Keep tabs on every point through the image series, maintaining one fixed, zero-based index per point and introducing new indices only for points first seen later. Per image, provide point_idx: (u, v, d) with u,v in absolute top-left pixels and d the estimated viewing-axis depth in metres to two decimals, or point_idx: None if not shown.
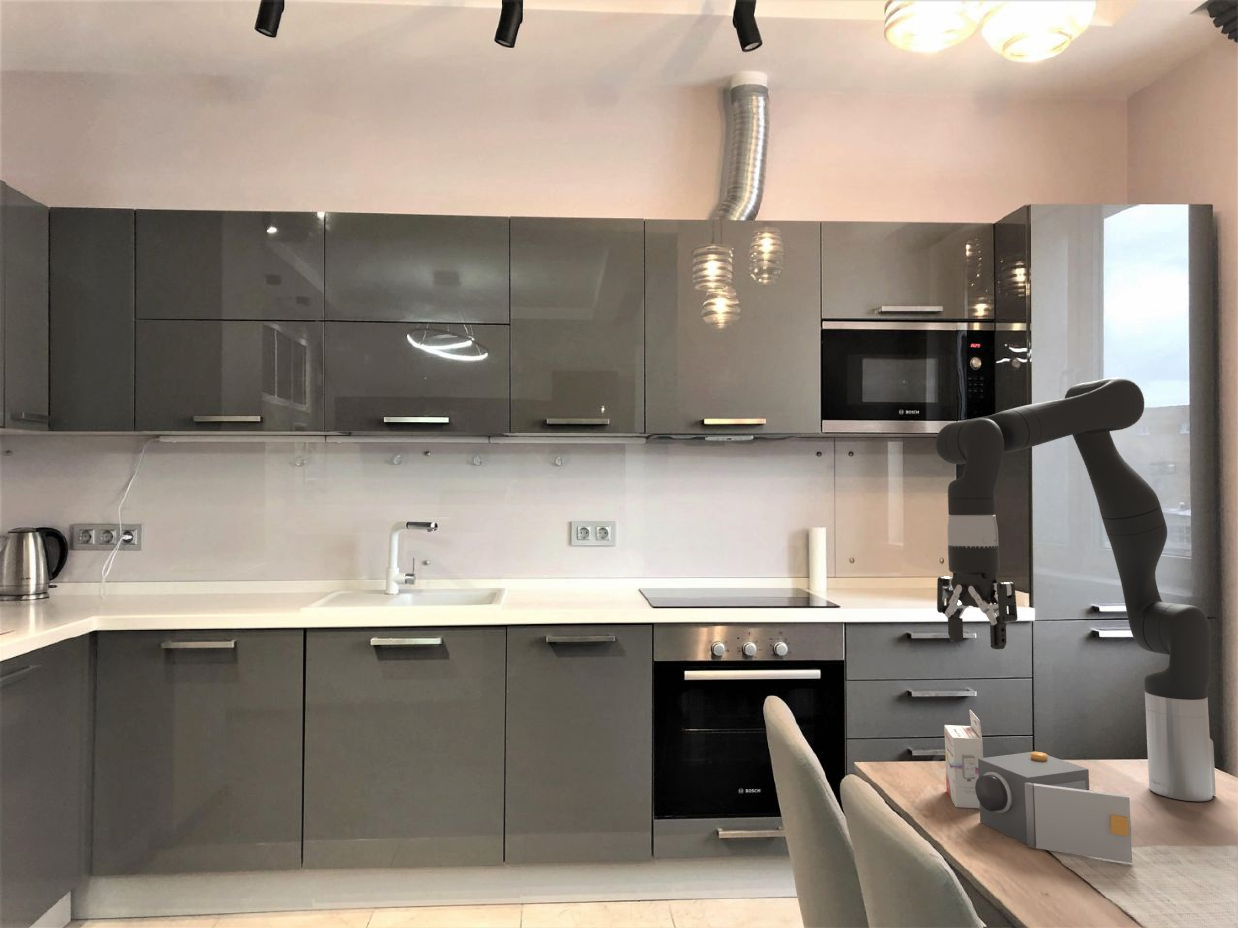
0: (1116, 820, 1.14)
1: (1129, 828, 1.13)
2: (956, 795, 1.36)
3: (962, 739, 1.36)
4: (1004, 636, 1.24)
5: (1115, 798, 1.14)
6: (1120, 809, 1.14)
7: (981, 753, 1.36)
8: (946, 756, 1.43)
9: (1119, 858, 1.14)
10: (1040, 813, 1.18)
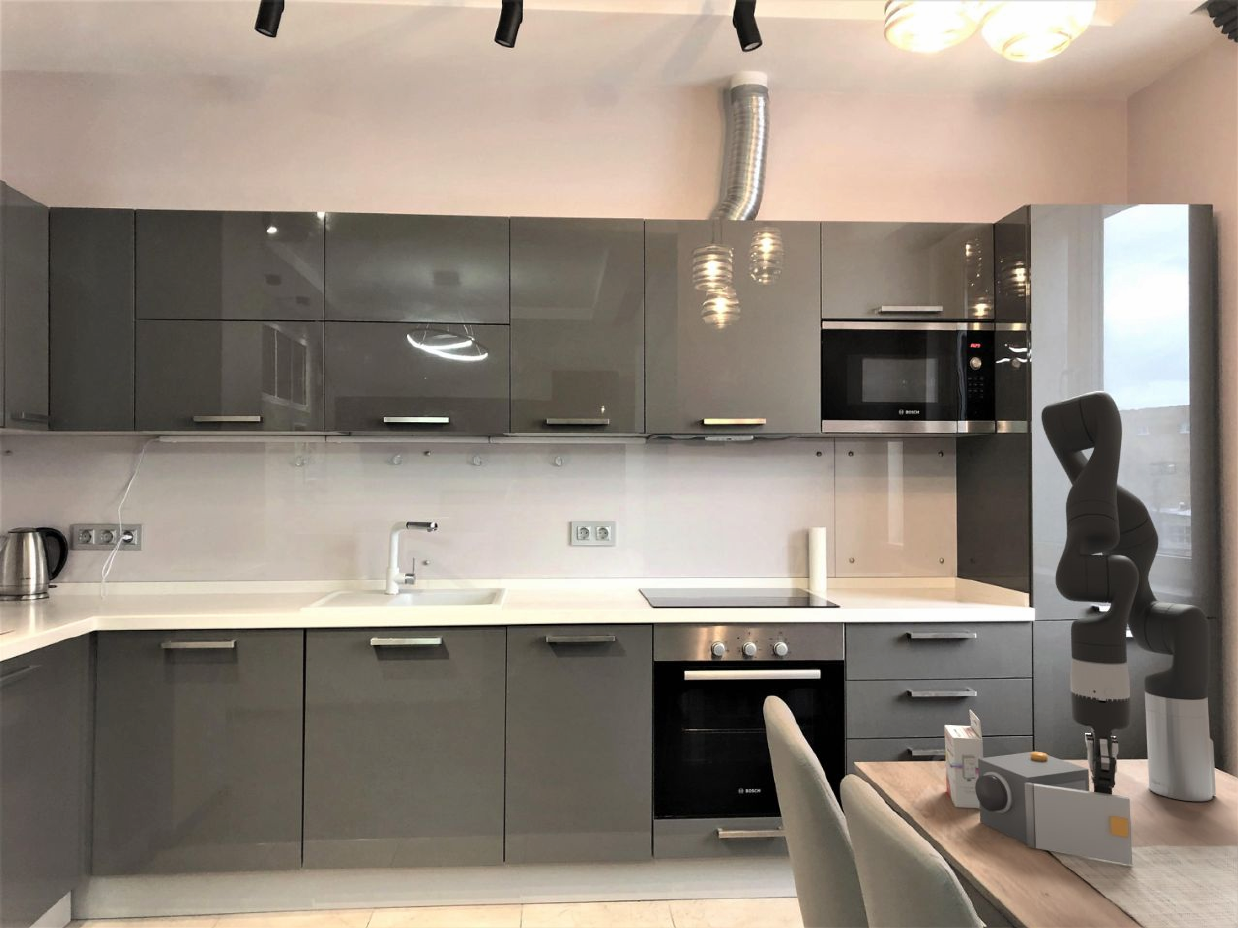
0: (1116, 821, 1.13)
1: (1129, 830, 1.13)
2: (956, 795, 1.36)
3: (962, 739, 1.36)
4: None
5: (1115, 799, 1.14)
6: (1120, 810, 1.13)
7: (981, 753, 1.36)
8: (946, 756, 1.43)
9: (1119, 859, 1.13)
10: (1040, 813, 1.18)
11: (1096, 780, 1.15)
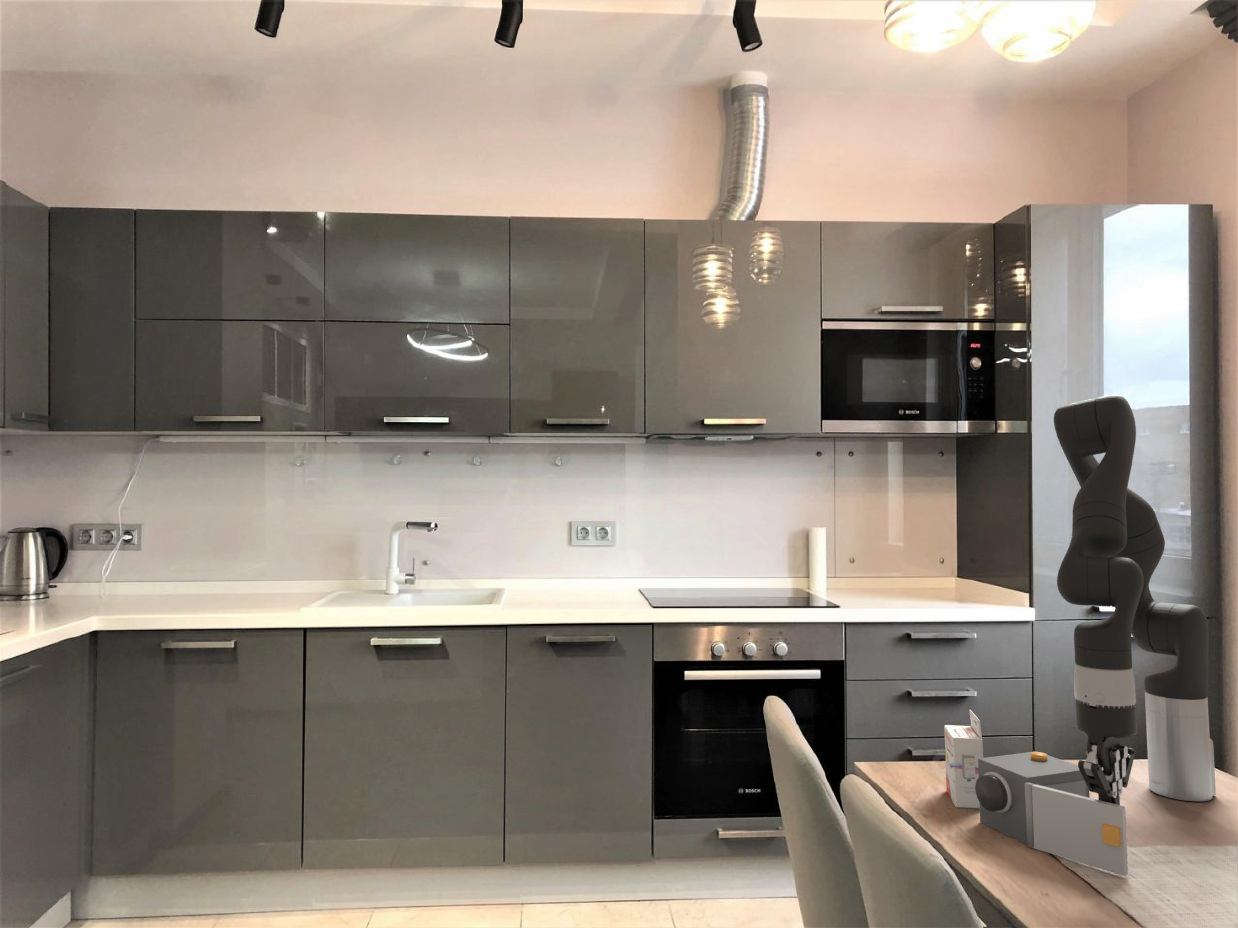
0: (1107, 829, 1.10)
1: (1122, 840, 1.09)
2: (956, 795, 1.36)
3: (962, 739, 1.36)
4: None
5: (1108, 807, 1.11)
6: (1113, 819, 1.10)
7: (981, 753, 1.36)
8: (946, 756, 1.43)
9: (1112, 869, 1.10)
10: (1038, 814, 1.18)
11: (1089, 786, 1.13)
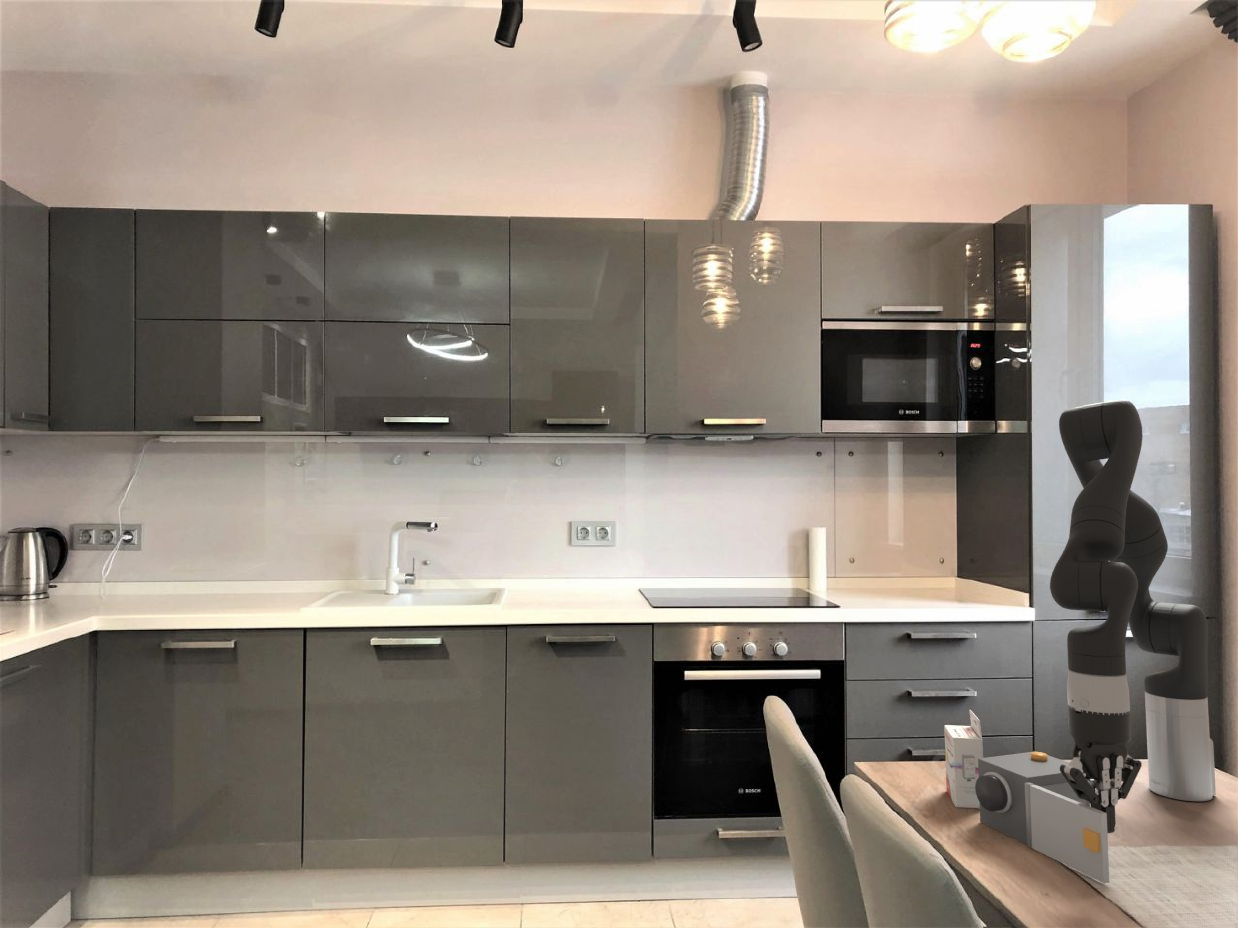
0: (1087, 833, 1.09)
1: (1101, 846, 1.07)
2: (956, 795, 1.36)
3: (962, 739, 1.36)
4: None
5: (1089, 812, 1.09)
6: (1094, 824, 1.08)
7: (981, 753, 1.36)
8: (946, 756, 1.43)
9: (1093, 875, 1.08)
10: (1034, 814, 1.18)
11: (1075, 792, 1.12)
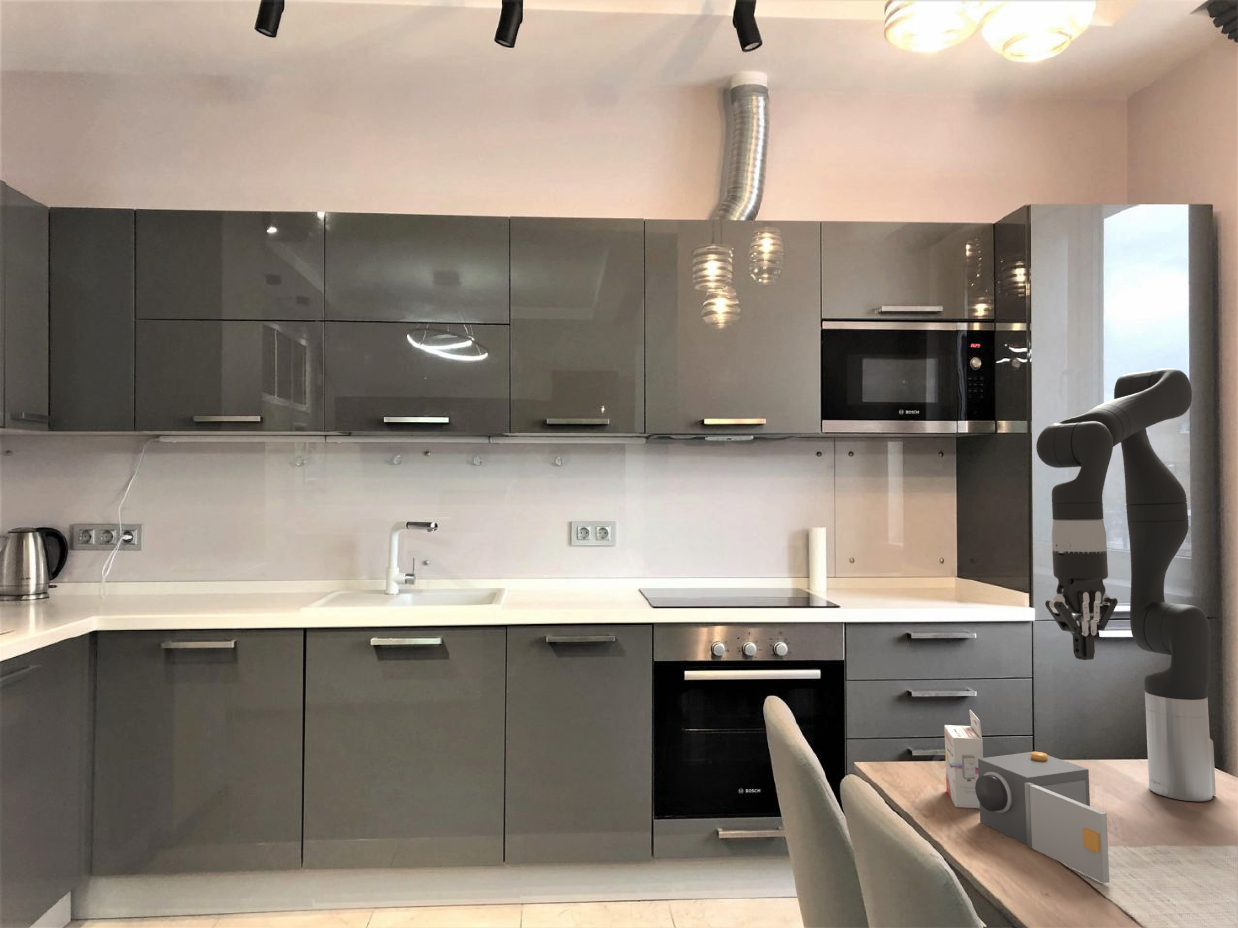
0: (1087, 833, 1.09)
1: (1101, 846, 1.07)
2: (956, 795, 1.36)
3: (962, 739, 1.36)
4: None
5: (1089, 812, 1.09)
6: (1094, 824, 1.08)
7: (981, 753, 1.36)
8: (946, 756, 1.43)
9: (1093, 875, 1.08)
10: (1034, 814, 1.18)
11: (1059, 625, 1.27)
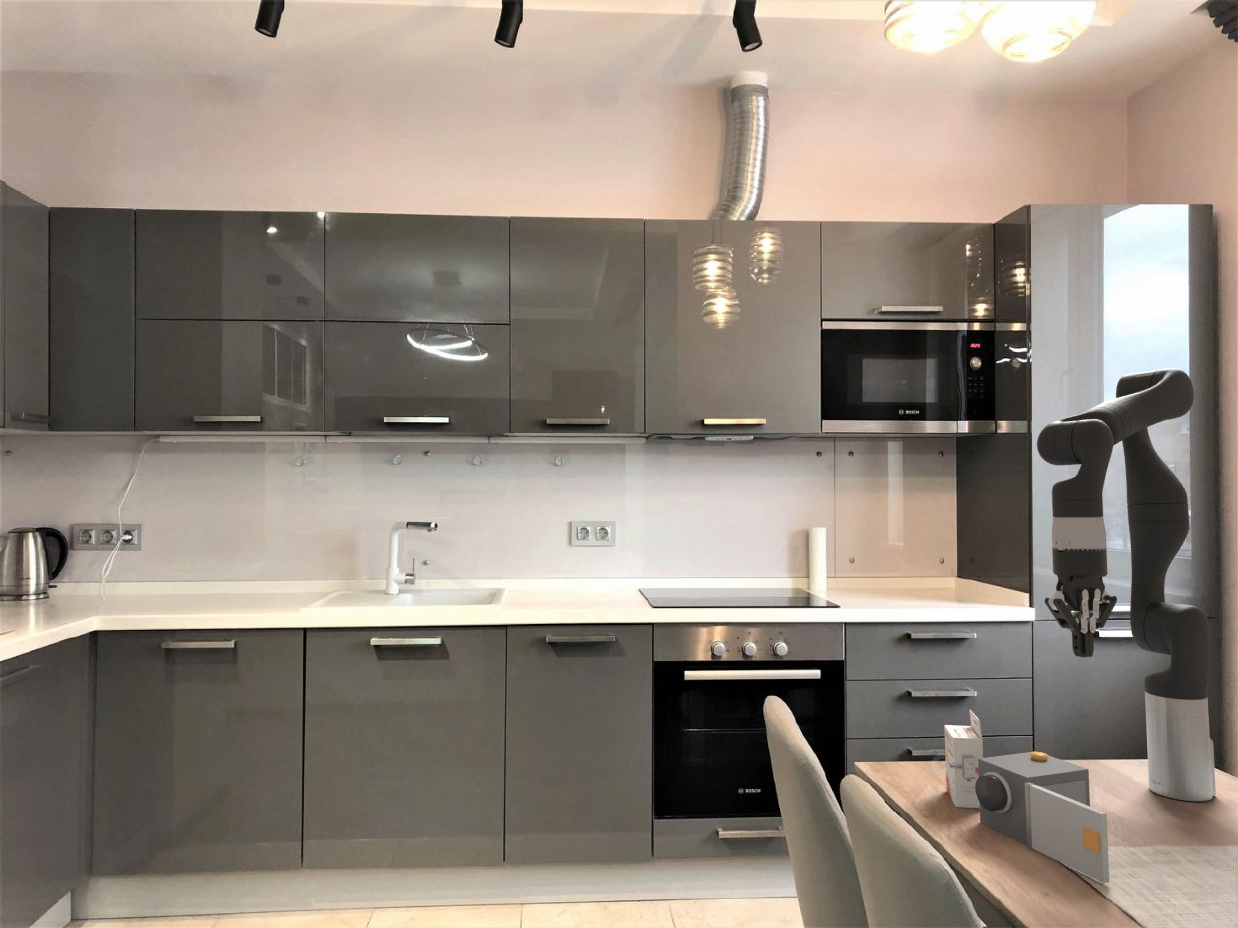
0: (1087, 833, 1.09)
1: (1101, 846, 1.07)
2: (956, 795, 1.36)
3: (962, 739, 1.36)
4: None
5: (1089, 812, 1.09)
6: (1094, 824, 1.08)
7: (981, 753, 1.36)
8: (946, 756, 1.43)
9: (1093, 875, 1.08)
10: (1034, 814, 1.18)
11: (1058, 622, 1.27)
